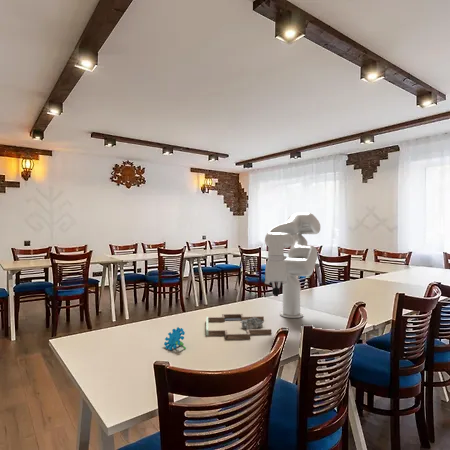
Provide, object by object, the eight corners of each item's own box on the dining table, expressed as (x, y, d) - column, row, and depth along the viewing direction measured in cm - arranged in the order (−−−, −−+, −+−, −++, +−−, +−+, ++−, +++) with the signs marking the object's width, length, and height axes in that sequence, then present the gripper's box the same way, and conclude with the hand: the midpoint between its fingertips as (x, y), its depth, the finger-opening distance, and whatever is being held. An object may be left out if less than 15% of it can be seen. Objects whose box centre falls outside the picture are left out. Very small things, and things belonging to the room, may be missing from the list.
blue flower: (159, 341, 141) (175, 322, 144) (168, 349, 144) (184, 330, 147) (170, 353, 132) (187, 333, 135) (179, 361, 135) (196, 341, 138)
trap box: (208, 318, 181) (208, 314, 181) (261, 317, 183) (261, 313, 183) (208, 339, 148) (208, 335, 148) (273, 338, 150) (273, 333, 150)
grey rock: (249, 331, 160) (249, 322, 160) (239, 327, 166) (238, 319, 166) (265, 327, 167) (265, 318, 166) (255, 323, 172) (254, 315, 172)
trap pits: (224, 318, 181) (224, 317, 181) (240, 318, 181) (240, 317, 181) (227, 338, 150) (227, 337, 150) (247, 337, 150) (247, 337, 150)
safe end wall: (206, 321, 176) (206, 316, 176) (208, 321, 176) (208, 316, 176) (206, 335, 154) (206, 330, 154) (208, 335, 154) (208, 330, 154)
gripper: (289, 257, 170) (288, 294, 170) (259, 257, 169) (259, 294, 169) (292, 259, 163) (292, 297, 163) (262, 259, 162) (262, 297, 162)
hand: (275, 295), depth 166 cm, fingers closed
